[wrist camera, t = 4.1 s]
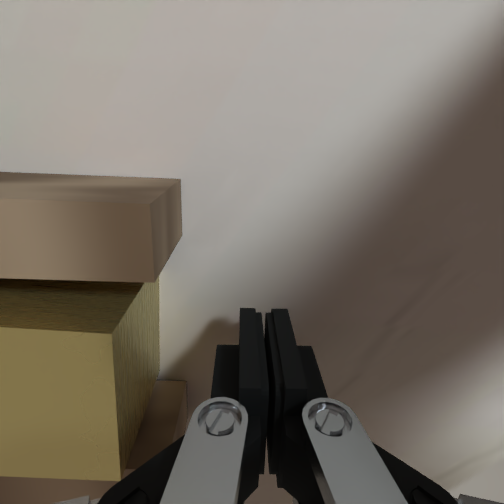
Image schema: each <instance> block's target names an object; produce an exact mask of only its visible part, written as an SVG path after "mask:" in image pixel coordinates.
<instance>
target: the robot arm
mask: <svg viewBox="0 0 504 504" xmlns="http://www.w3.org/2000/svg"><path fill="white" fill-rule="evenodd" d="M266 437H267V450H268V463H269V473H270V474H276V476H277V487H278V488H284V489H285V490H286V491H287V492H288V493H289V494H291V495H292V496H293V504H504V503H499V502H494V501H490V500H486V499H481V498H476V497H472V496H467V495H463V494H460V495H459V498H458V499H457V498H453V497H452V496H451V495H450V493H449V492H447V491H446V490H445V489H443V488H442V487H441V486H440V485H438V484H437V483H435V482H433V481H432V480H430V479H429V478H427V477H426V476H424V475H423V474H421V473H419V472H418V471H416V470H415V469H413V468H412V467H410V466H409V465H407V464H405V463H404V462H402V461H401V460H399V459H398V458H396V457H395V456H393V455H391V454H390V453H388V452H387V451H385V450H384V449H382V448H381V447H379V446H377V445H376V444H374V443H373V442H371V440H370V438H369V436H368V435H367V433H366V431H365V430H364V428H363V426H362V424H361V423H360V421H359V419H358V418H357V416H356V414H355V413H354V412H353V411H352V409H351V408H349V407H348V406H347V405H345V404H344V403H342V402H340V401H338V400H335V399H331V398H328V396H327V393H326V390H325V387H324V384H323V380H322V377H321V374H320V371H319V368H318V365H317V362H316V359H315V355H314V352H313V349H312V347H311V346H297V345H296V341H295V337H294V333H293V329H292V325H291V321H290V317H289V313H288V309H272V310H271V313H266V316H265V334H264V333H263V324H262V314H261V312H256V310H255V308H240V334H239V345H217V349H216V357H215V366H214V375H213V383H212V392H211V399H208V400H206V401H204V402H202V403H201V404H200V405H199V406H198V407H197V408H196V409H195V411H194V413H193V414H192V417H191V420H190V423H189V425H188V428H187V431H186V433H185V434H184V435H183V436H182V437H180V438H179V439H178V440H176V441H175V442H173V443H172V444H171V445H169V446H168V447H166V448H165V449H164V450H162V451H161V452H159V453H158V454H157V455H155V456H154V457H153V458H151V459H150V460H148V461H147V462H146V463H144V464H143V465H141V466H140V467H139V468H137V469H136V470H134V471H133V472H132V473H130V474H129V475H127V476H126V477H125V478H123V479H122V480H121V481H119V482H118V483H116V484H115V485H114V486H112V487H111V488H110V489H109V490H108V491H107V492H106V493H105V494H104V495H103V496H102V498H98V499H94V500H90V495H88V496H83V497H79V498H75V499H70V500H66V501H61V502H57V503H53V504H245V500H246V499H247V498H248V497H249V496H250V495H251V494H252V493H253V492H254V491H255V489H256V488H257V487H258V480H259V474H264V465H265V449H266Z"/></svg>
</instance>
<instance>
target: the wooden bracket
mask: <svg viewBox="0 0 504 504" xmlns="http://www.w3.org/2000/svg"><path fill="white" fill-rule="evenodd" d="M181 236H182V214H181V180H180V179H164V178H139V177H114V176H88V175H63V174H38V173H12V172H0V278H9V279H43V280H77V281H111V282H145V283H155V281H156V280H157V278H158V276H159V274H160V273H161V271H162V269H163V267H164V266H165V264H166V262H167V261H168V259H169V257H170V255H171V254H172V252H173V250H174V248H175V247H176V245H177V243H178V242H179V240H180V238H181ZM186 422H187V384H186V381H159V380H156V382H155V385H154V388H153V391H152V394H151V397H150V399H149V402H148V405H147V408H146V411H145V414H144V417H143V419H142V422H141V425H140V428H139V431H138V434H137V437H136V440H135V442H134V445H133V448H132V451H131V454H130V457H129V460H128V462H127V465H126V468H125V471H124V474H123V477H122V479H123V478H125V477H126V476H127V475H129V474H130V473H132V472H133V471H134V470H136V469H137V468H139V467H140V466H141V465H143V464H144V463H146V462H147V461H148V460H150V459H151V458H153V457H154V456H155V455H157V454H158V453H159V452H161V451H162V450H164V449H165V448H166V447H168V446H169V445H171V444H172V443H173V442H175V441H176V440H178V439H179V438H180V437H182V436H183V435H184V432H185V427H186ZM118 482H119V481H101V480H78V479H54V478H30V477H7V476H0V504H53V503H57V502H61V501H66V500H70V499H75V498H79V497H83V496H88V495H90V500H94V499H98V498H102V496H103V495H104V494H105V493H106V492H107V491H108V490H109V489H110V488H111V487H112V486H114V485H115V484H116V483H118Z"/></svg>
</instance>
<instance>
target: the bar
mask: <svg viewBox="0 0 504 504" xmlns="http://www.w3.org/2000/svg"><path fill="white" fill-rule="evenodd" d="M159 371H160V349H159V276H158V278H157V280H156V281H155V283H145V282H111V281H77V280H43V279H9V278H0V476H7V477H30V478H54V479H78V480H101V481H121V480H122V477H123V474H124V471H125V468H126V465H127V462H128V460H129V457H130V454H131V451H132V448H133V445H134V442H135V440H136V437H137V434H138V431H139V428H140V425H141V422H142V419H143V417H144V414H145V411H146V408H147V405H148V402H149V399H150V397H151V394H152V391H153V388H154V385H155V382H156V379H157V377H158V374H159Z"/></svg>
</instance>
